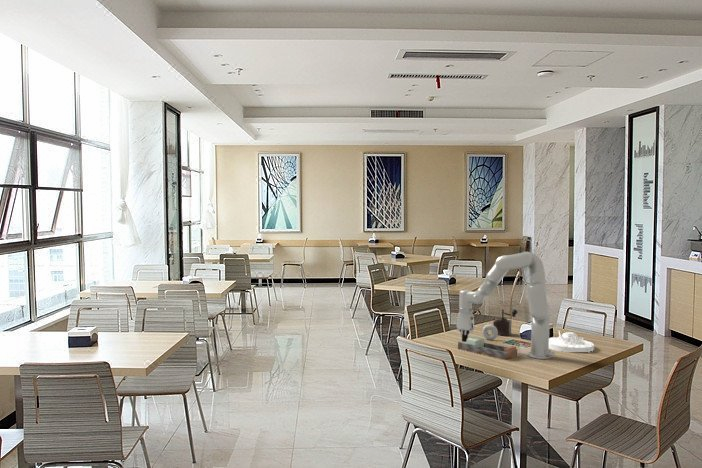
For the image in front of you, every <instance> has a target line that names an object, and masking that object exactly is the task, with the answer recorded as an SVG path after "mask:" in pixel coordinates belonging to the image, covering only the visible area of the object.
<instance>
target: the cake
mask: <svg viewBox="0 0 702 468" xmlns="http://www.w3.org/2000/svg"><path fill="white" fill-rule="evenodd" d="M549 349H550V350H552V351H557V352H561V351H563V352H564V353H569V352H588V353H591V352H590V351H592V352H594V351H595V343H593V342H591V341H588V340H586V339H585V340H584V337H578V335H577V333H575V332H572V331H566V332H564V333H562V334H561V331H560V330H558V337H554V336H552V337H549ZM593 350H594V351H593Z"/></svg>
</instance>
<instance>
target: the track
mask: <svg viewBox="0 0 702 468" xmlns="http://www.w3.org/2000/svg"><path fill="white" fill-rule="evenodd" d="M457 349H458V350H460V349H461V351H465V350H466V352H469V351H470V353H473V352H474V354H478V353H479V354H478V355H482V354H483V356H486V355H487V356H488V357H491V358H495V359H500V360H504V361H506V360H510V359H513V358H517V357H518V349H517V346H510V347H507V346H504V345H498V344H494V343H489V342H485V341H484V347H480V346H475V345H471V344H467V342H462V341H458V342H457Z"/></svg>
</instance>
